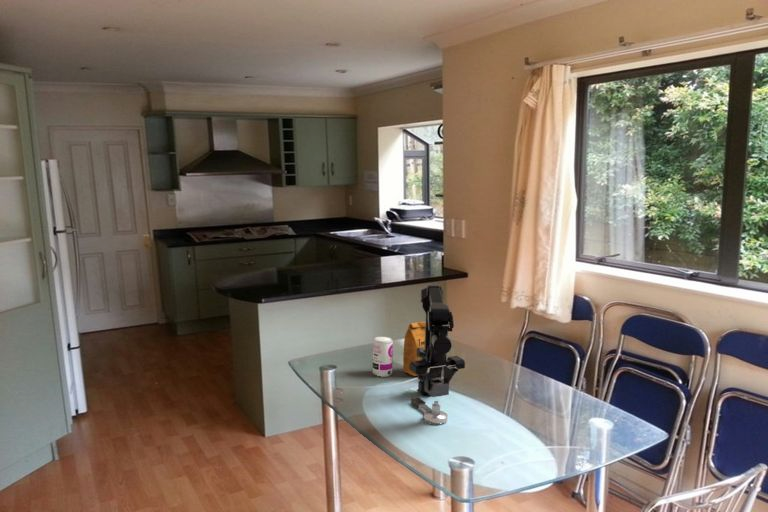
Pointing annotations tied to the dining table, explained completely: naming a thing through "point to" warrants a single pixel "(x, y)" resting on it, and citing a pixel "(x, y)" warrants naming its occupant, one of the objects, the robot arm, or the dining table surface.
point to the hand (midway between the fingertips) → (436, 389)
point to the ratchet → (430, 411)
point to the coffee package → (413, 344)
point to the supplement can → (382, 356)
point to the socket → (438, 387)
